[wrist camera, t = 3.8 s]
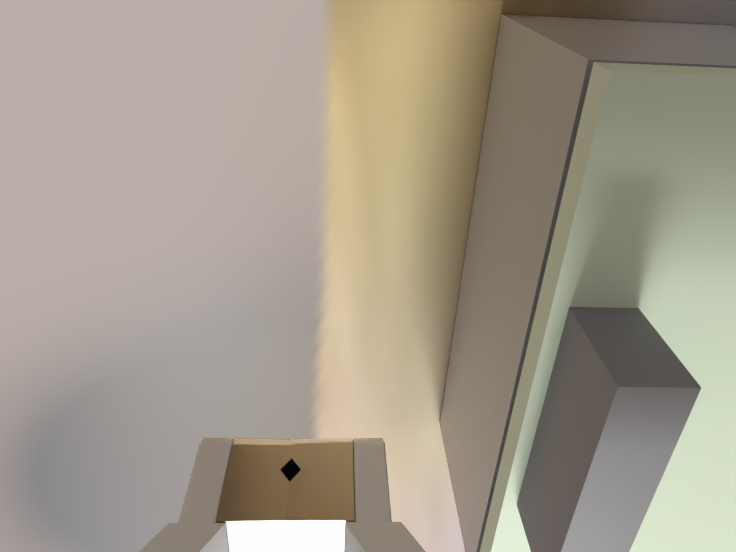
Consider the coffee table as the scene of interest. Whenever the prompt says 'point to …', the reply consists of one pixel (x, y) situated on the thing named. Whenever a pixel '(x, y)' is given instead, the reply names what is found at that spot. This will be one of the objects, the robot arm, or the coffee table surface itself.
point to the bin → (530, 216)
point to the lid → (633, 331)
